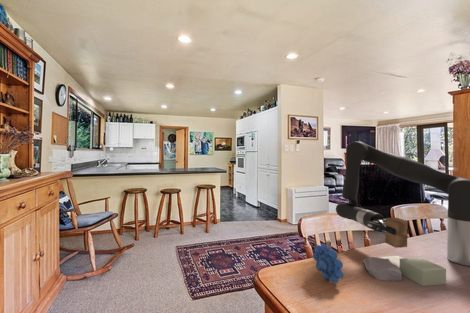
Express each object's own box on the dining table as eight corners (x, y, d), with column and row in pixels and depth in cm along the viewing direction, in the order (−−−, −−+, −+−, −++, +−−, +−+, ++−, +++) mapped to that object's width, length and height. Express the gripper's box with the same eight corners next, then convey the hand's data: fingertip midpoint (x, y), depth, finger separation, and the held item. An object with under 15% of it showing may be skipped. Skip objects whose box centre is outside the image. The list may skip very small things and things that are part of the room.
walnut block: (396, 241, 95) (396, 217, 95) (407, 246, 90) (407, 221, 90) (385, 242, 95) (385, 217, 94) (395, 247, 90) (396, 221, 89)
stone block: (374, 285, 81) (405, 281, 80) (371, 271, 81) (402, 267, 80) (361, 269, 93) (388, 266, 91) (358, 257, 93) (385, 254, 92)
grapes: (305, 275, 84) (305, 242, 83) (317, 270, 87) (317, 238, 87) (335, 292, 74) (335, 254, 74) (347, 285, 78) (347, 249, 77)
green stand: (420, 270, 87) (420, 257, 87) (445, 283, 78) (446, 268, 78) (399, 272, 86) (399, 258, 86) (422, 286, 77) (423, 271, 77)
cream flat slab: (397, 257, 98) (397, 255, 98) (418, 268, 89) (418, 265, 89) (376, 259, 96) (376, 257, 96) (394, 270, 87) (394, 267, 87)
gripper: (355, 211, 105) (385, 223, 88) (383, 210, 108) (418, 221, 91) (355, 228, 105) (385, 242, 89) (383, 226, 108) (418, 240, 91)
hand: (402, 231), depth 90 cm, fingers closed on walnut block, 5 cm apart
